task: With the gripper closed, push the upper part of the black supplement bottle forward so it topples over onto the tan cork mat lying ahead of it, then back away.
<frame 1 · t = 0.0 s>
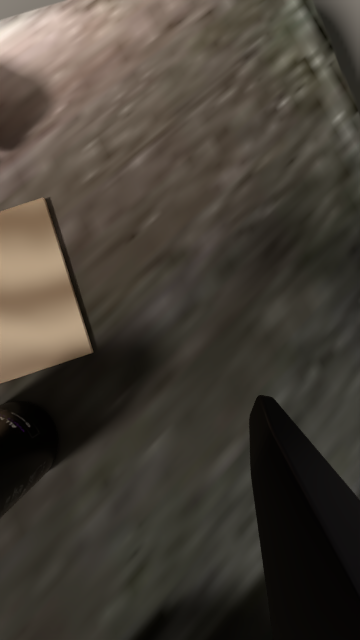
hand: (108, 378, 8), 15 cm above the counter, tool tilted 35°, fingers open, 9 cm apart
supplement bottle: (21, 439, 23), on the counter
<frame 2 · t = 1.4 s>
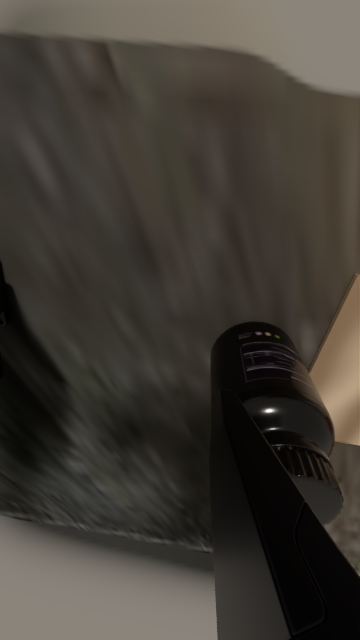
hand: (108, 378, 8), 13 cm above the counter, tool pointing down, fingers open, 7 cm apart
supplement bottle: (251, 352, 23), on the counter
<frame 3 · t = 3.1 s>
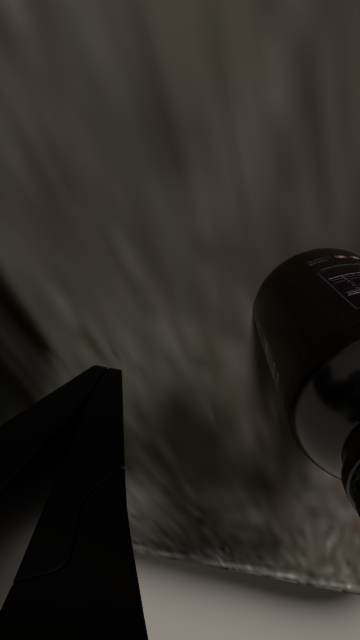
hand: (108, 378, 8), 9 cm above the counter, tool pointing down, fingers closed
supplement bottle: (311, 301, 16), on the counter
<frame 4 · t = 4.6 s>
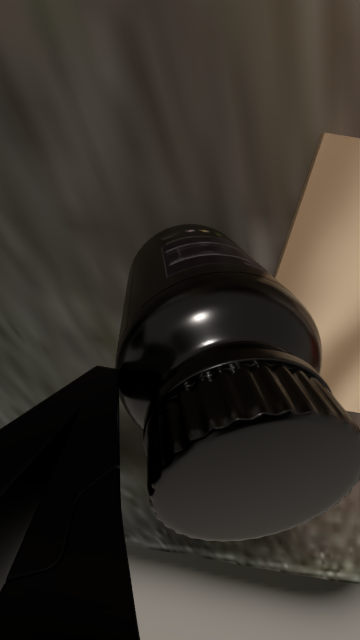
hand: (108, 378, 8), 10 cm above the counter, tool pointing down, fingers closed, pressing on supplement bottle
supplement bottle: (187, 279, 16), on the counter, touching gripper
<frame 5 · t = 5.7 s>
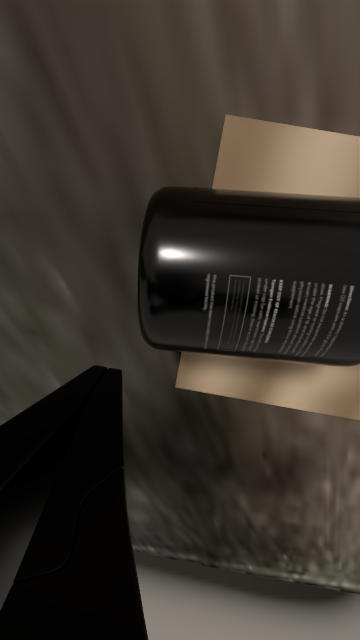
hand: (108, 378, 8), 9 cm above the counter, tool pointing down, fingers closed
cork mat: (312, 302, 16), on the counter
supplement bottle: (147, 269, 12), point 4 cm above the counter, touching cork mat
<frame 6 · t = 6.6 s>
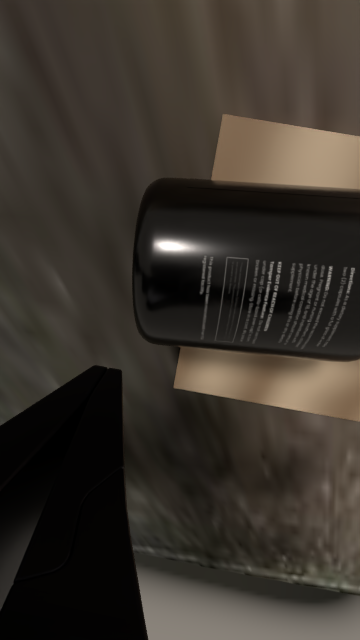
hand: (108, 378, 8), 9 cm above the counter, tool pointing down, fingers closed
cork mat: (310, 303, 16), on the counter
supplement bottle: (144, 262, 12), point 4 cm above the counter, touching cork mat
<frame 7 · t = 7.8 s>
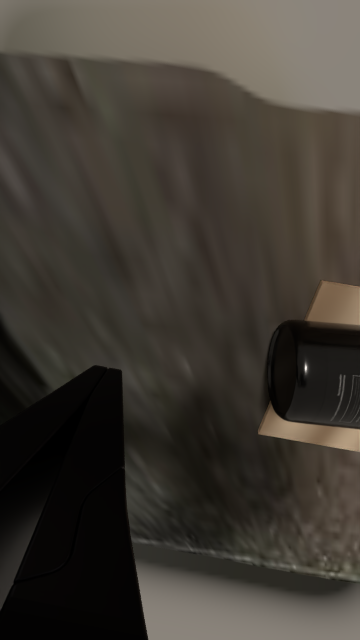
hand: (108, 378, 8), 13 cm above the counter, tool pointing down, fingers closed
supplement bottle: (275, 366, 19), point 4 cm above the counter, touching cork mat
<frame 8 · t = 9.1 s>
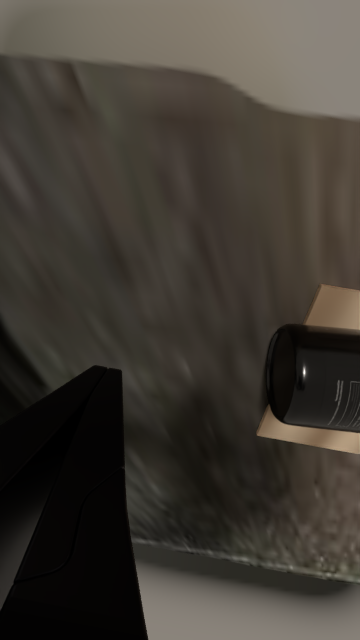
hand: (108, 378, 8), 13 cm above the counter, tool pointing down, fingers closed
supplement bottle: (274, 370, 19), point 4 cm above the counter, touching cork mat
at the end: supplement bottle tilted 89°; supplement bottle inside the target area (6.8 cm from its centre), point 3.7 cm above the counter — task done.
